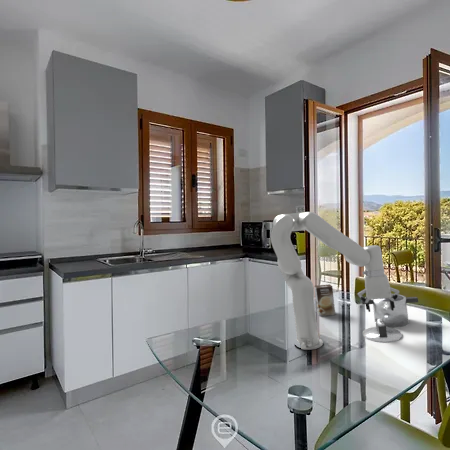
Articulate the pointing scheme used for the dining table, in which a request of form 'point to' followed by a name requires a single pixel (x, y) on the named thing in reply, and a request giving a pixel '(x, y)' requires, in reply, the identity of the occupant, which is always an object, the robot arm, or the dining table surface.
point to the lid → (382, 333)
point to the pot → (398, 314)
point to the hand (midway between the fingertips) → (380, 310)
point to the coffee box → (324, 300)
